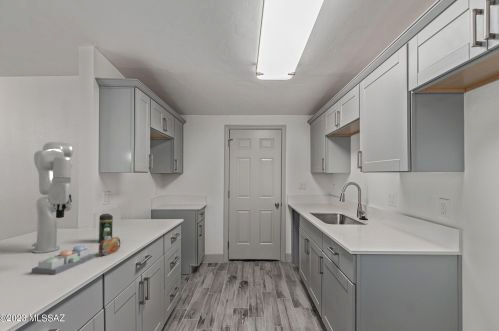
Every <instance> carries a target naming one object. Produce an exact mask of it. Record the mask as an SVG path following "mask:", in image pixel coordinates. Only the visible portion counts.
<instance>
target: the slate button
mask: <svg viewBox="0 0 499 331" xmlns="http://www.w3.org/2000/svg"><path fill="white" fill-rule="evenodd" d="M72 250H73V252H81V251H84V250H85V245H77V246H74V247H73V249H72Z"/></svg>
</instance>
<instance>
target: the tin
mask: <svg viewBox="0 0 499 331" xmlns="http://www.w3.org/2000/svg"><path fill="white" fill-rule="evenodd" d="M120 248H121V240H120V238H119V237H118V236H116V237H113V236H112V238H110V239H107V240H104V241H102V242H101V243H100V242H99V245H98V253H99V254H100V256H107V257H108V256H110V255H111V254H114V253H116V252H118V251H119V249H120Z"/></svg>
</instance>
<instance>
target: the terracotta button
mask: <svg viewBox="0 0 499 331" xmlns="http://www.w3.org/2000/svg"><path fill="white" fill-rule="evenodd" d="M72 250H73V249H72ZM72 250H71V249H69V250H68V249H67V250H61V251H60V252H59V254H60V256H64V257H67V256H70V255H72Z"/></svg>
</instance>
